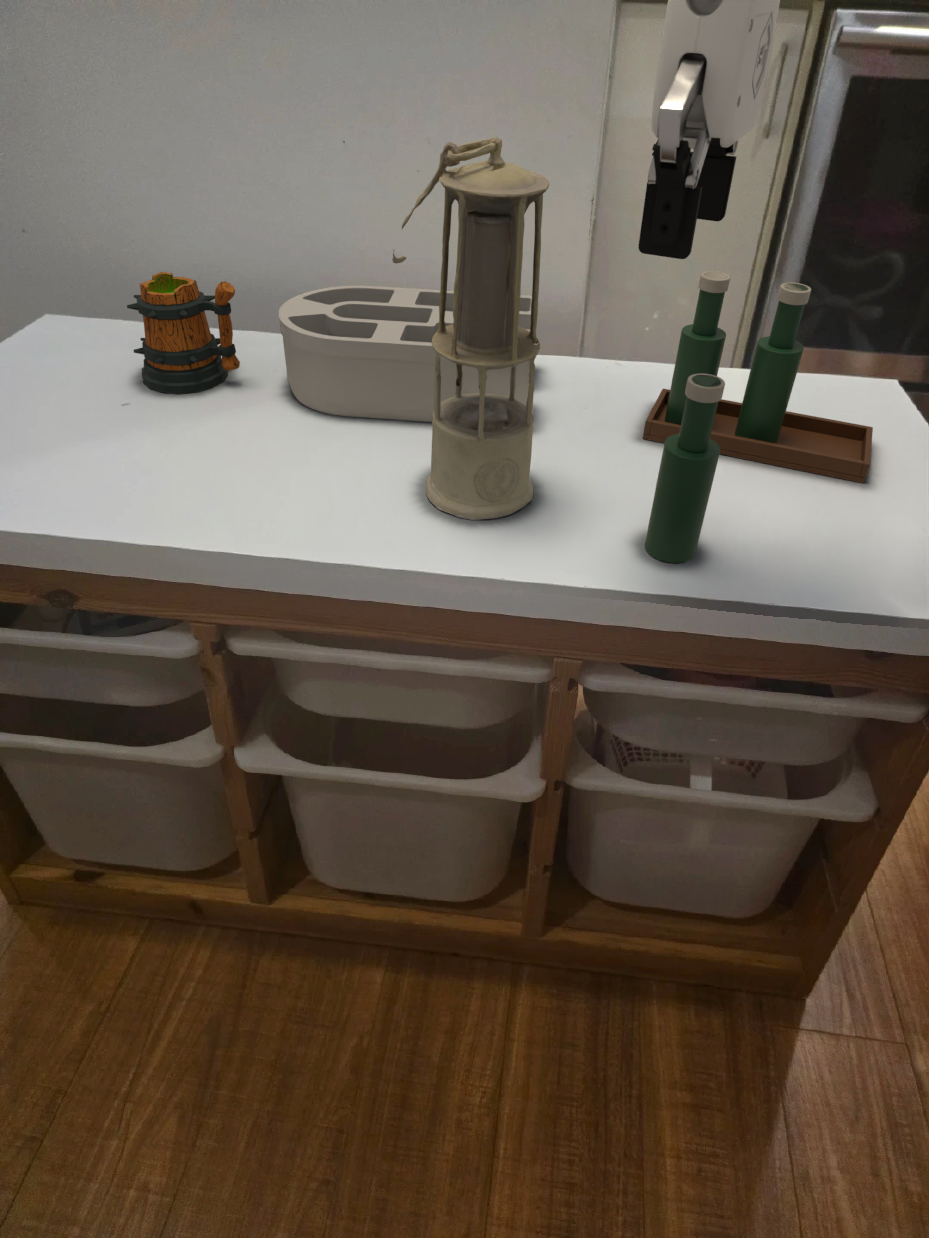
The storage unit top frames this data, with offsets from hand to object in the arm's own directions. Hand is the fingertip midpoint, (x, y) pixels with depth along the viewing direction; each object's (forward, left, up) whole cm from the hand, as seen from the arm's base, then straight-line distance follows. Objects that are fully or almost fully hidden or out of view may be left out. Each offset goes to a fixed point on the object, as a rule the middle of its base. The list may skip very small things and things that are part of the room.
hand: (683, 235), depth 57 cm
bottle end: (-12, -24, -26) cm, 37 cm away
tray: (-19, -21, -26) cm, 38 cm away
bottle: (-4, -2, -26) cm, 27 cm away
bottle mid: (-19, -21, -26) cm, 38 cm away
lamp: (+13, -13, -27) cm, 32 cm away
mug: (+42, -39, -27) cm, 63 cm away
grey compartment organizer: (+17, -35, -27) cm, 47 cm away
